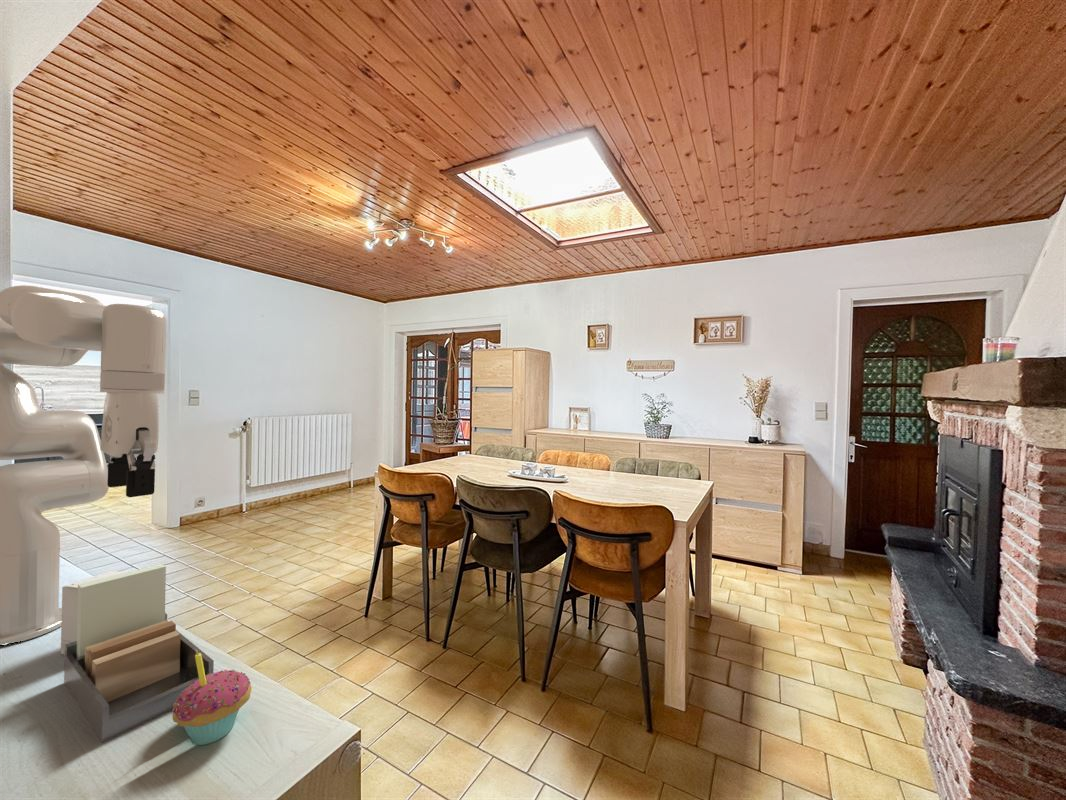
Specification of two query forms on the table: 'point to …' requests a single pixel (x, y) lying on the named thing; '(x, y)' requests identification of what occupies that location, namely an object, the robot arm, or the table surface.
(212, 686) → the cupcake
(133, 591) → the grey flat panel
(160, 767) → the table surface
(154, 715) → the bin
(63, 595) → the supplement box
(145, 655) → the offcuts
